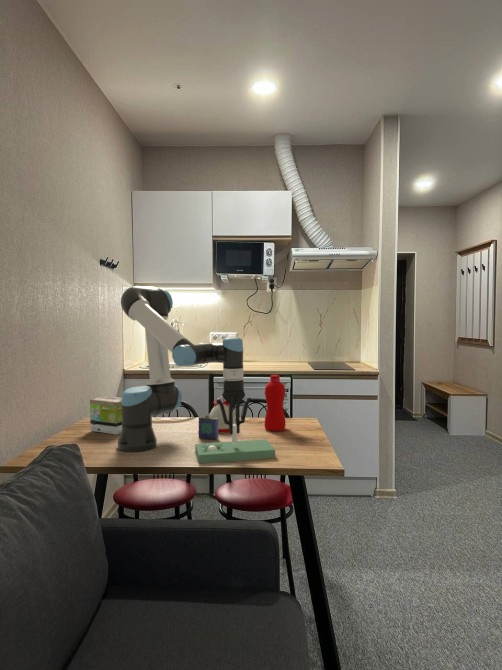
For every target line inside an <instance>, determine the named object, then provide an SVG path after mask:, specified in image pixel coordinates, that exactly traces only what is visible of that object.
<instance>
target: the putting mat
mask: <svg viewBox="0 0 502 670" xmlns="http://www.w3.org/2000/svg"><path fill="white" fill-rule="evenodd" d="M211 445H213V446H215V447H216V448H217V450H213V451H210V450H207V448H208V447H209V446H211ZM194 450H195V451H194V452H195V455H196V458H197V462H198V464H211V463H223V462H236V461H249V460H250V461H251V460H265V459H276V449H275V448H274V446H272V444H271V443H270V442H269V441H268V440H267V439H265V438H263V439H252V440H251V439H250V440H249V439H248V440H237V443H233V442H232V441H220V442H219V441H218V442H206V443H205V442H204V443H195V444H194Z"/></svg>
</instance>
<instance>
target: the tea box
mask: <svg viewBox="0 0 502 670" xmlns="http://www.w3.org/2000/svg"><path fill="white" fill-rule="evenodd" d="M121 400H122V397H116V396H106V395H104V396H100V397H97V398H93V399H90V400H89V413H90V415H89V417H90V419H89V420H90V432H98V433H104V434H111V435H116V436H117V435H120V433H121V430H122V404H121Z"/></svg>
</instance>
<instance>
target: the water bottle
mask: <svg viewBox="0 0 502 670" xmlns="http://www.w3.org/2000/svg"><path fill="white" fill-rule="evenodd" d="M269 379H270V380H269V382H268V383H267V384H266V385H265V387H264V396H265V402H266V411H265V417H264V429H265V430H266V431H267V432H283V431H284V430H285V429H286V415H285V411H284V401H285V396H286V387H285V385H284V383H282V382H281V380H280V379H281V376H280V375H278V374H271V375H270V378H269Z"/></svg>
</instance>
